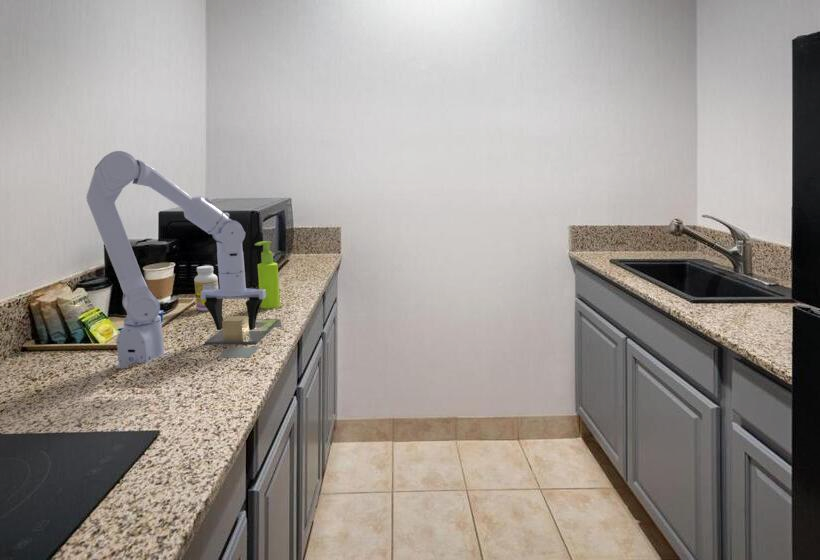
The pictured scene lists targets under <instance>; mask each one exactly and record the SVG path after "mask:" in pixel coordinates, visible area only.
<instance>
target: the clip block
mask: <svg viewBox="0 0 820 560" xmlns="http://www.w3.org/2000/svg"><path fill="white" fill-rule="evenodd" d="M248 319H249V317H248V315H229V316H227V317H226V318H223V321H222V327H223V328H222V329H223V339H224V340H243V339H244V338H246V337H247V336H248V335H249V324H248Z"/></svg>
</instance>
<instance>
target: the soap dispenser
mask: <svg viewBox="0 0 820 560" xmlns="http://www.w3.org/2000/svg"><path fill="white" fill-rule="evenodd" d="M270 244H273V242H272V241H271V240H270V241H268V240H265V241H263V240H262V241H258V242H256V243H254V246H259V247H260V246H262V245H263V251H261V253H260V258H261V259H260V260H261V262H260V263H258V264H257V275H258V276H257V277H258V289H265V292H266V298H264V299H263V300H262V303H261V305H260V308H261V309H277V308H279V307H281V298H280V281H279V267H278V266H279V265H278V263H277V262H274V258H273V257H274V254H273V251H271V250H270Z"/></svg>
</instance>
